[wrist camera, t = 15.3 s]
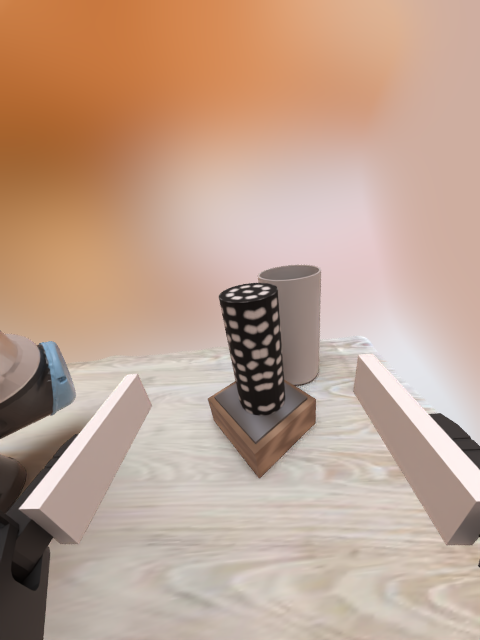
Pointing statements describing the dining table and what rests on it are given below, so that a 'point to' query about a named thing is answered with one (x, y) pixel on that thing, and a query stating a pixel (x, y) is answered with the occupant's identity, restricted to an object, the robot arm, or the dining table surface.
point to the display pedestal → (263, 425)
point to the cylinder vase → (298, 318)
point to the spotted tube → (255, 345)
